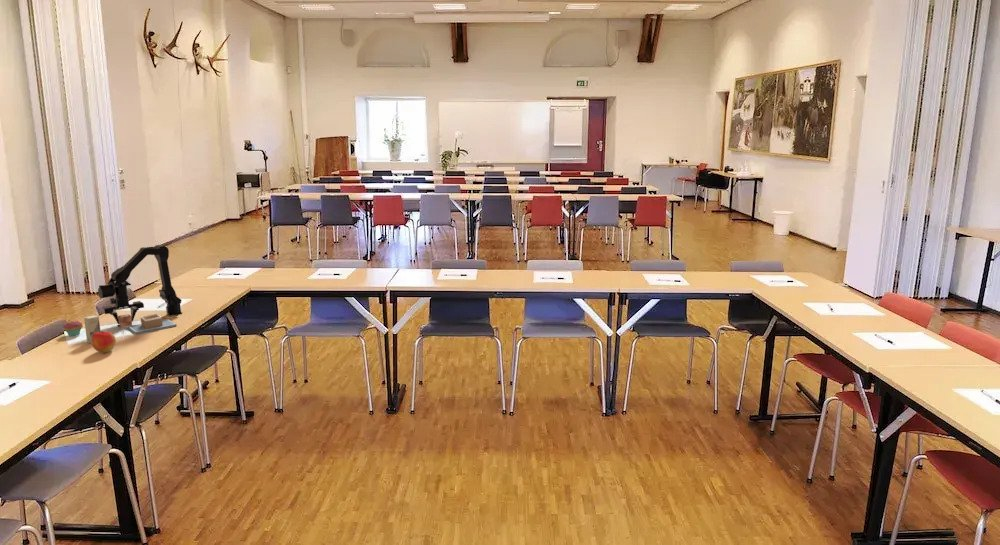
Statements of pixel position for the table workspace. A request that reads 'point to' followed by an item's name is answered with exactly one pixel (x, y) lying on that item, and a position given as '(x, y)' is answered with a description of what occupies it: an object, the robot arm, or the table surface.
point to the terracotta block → (124, 320)
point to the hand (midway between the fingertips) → (125, 322)
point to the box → (91, 327)
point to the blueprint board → (139, 328)
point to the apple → (103, 341)
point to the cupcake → (72, 327)
